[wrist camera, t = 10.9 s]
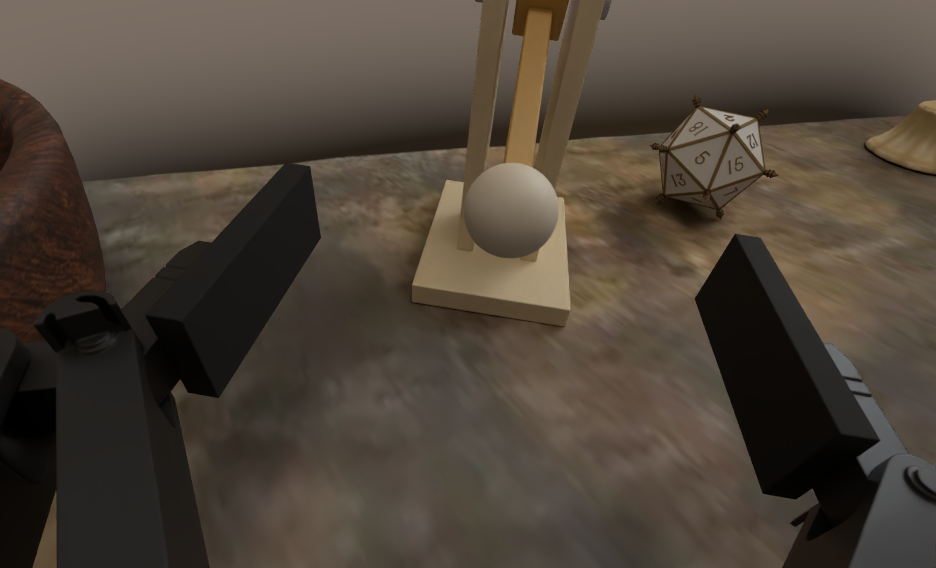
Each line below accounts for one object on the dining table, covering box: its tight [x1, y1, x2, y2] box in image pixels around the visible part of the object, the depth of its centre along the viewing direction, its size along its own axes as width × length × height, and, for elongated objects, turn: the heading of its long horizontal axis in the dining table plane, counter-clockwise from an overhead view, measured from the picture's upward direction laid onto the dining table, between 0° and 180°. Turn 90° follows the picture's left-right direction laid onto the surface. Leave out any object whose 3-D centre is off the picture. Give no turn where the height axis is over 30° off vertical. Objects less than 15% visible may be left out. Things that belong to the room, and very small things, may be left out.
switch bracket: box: [412, 0, 611, 326], centre depth 25 cm, size 12×9×17 cm
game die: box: [650, 95, 778, 220], centre depth 35 cm, size 9×8×10 cm
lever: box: [464, 0, 569, 259], centre depth 19 cm, size 14×4×4 cm
